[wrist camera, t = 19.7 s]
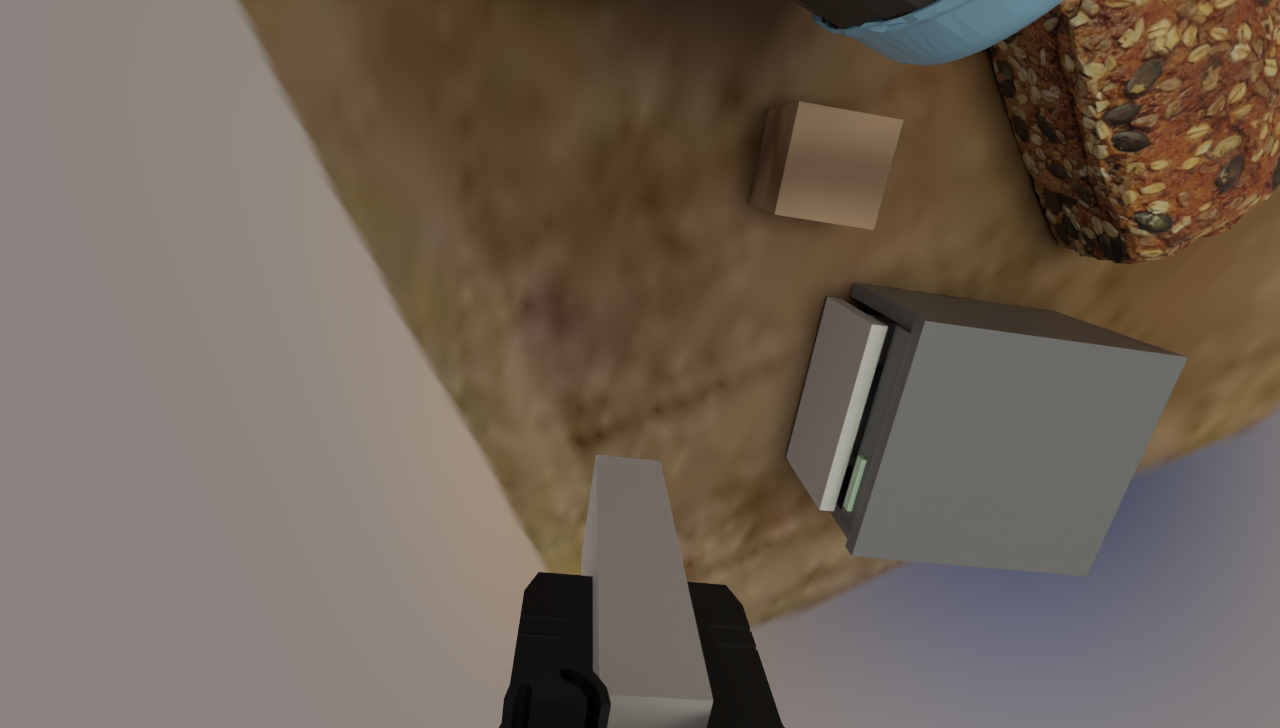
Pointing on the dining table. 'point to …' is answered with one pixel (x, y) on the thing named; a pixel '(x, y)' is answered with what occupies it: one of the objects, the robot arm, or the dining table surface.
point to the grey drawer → (838, 397)
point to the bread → (1146, 119)
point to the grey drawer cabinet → (999, 434)
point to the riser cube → (824, 164)
